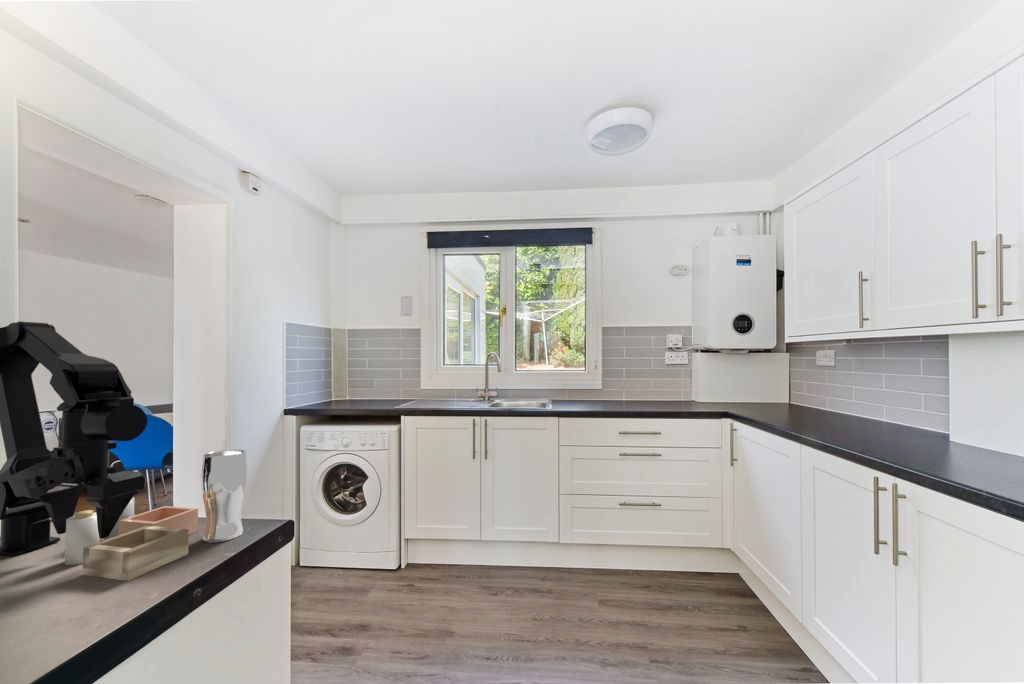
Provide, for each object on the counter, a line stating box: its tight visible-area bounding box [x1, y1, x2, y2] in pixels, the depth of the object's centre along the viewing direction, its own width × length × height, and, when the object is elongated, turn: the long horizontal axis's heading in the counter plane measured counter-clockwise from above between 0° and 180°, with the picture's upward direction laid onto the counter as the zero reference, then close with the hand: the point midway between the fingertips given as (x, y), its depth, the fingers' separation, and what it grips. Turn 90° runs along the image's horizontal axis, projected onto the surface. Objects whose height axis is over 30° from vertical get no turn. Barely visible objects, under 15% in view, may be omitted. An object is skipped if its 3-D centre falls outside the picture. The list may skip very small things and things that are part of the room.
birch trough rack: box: [82, 526, 190, 582], centre depth 68 cm, size 9×9×4 cm
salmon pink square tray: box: [118, 505, 199, 535], centre depth 79 cm, size 8×8×4 cm
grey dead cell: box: [103, 496, 135, 541], centre depth 79 cm, size 4×4×8 cm
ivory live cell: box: [64, 509, 101, 566], centre depth 70 cm, size 4×4×8 cm
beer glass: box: [200, 449, 247, 544], centre depth 79 cm, size 7×7×15 cm
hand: (82, 535), depth 70 cm, fingers open, 9 cm apart
